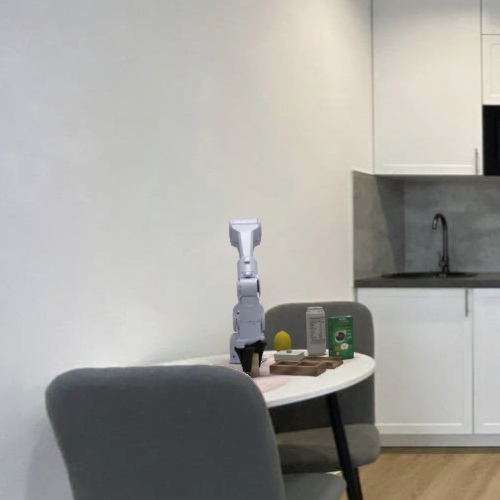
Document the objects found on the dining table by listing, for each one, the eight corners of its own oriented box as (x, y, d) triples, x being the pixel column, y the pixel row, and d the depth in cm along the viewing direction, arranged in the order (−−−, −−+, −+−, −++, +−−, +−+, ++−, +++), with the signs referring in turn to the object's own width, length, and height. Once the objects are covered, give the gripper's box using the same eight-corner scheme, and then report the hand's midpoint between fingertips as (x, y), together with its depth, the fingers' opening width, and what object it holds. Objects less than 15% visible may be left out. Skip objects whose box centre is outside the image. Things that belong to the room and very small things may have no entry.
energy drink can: (324, 352, 233) (323, 306, 233) (327, 355, 227) (325, 308, 227) (306, 353, 233) (304, 306, 232) (308, 356, 227) (306, 308, 226)
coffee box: (349, 356, 224) (348, 314, 223) (355, 358, 221) (353, 315, 221) (328, 360, 220) (326, 317, 219) (333, 361, 217) (331, 317, 217)
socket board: (269, 374, 202) (269, 365, 202) (280, 368, 209) (279, 360, 209) (317, 376, 196) (316, 367, 196) (326, 370, 204) (325, 362, 204)
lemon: (290, 357, 227) (289, 331, 227) (273, 357, 228) (272, 332, 228) (292, 354, 233) (291, 329, 232) (275, 354, 234) (274, 329, 233)
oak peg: (242, 376, 200) (241, 355, 200) (248, 373, 204) (247, 352, 203) (255, 377, 198) (254, 355, 198) (261, 374, 202) (260, 353, 202)
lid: (273, 361, 214) (273, 351, 214) (281, 357, 220) (281, 347, 220) (297, 362, 211) (296, 352, 211) (304, 358, 217) (304, 348, 217)
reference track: (273, 366, 213) (273, 360, 213) (285, 360, 221) (284, 355, 221) (334, 369, 205) (333, 362, 205) (343, 363, 213) (343, 357, 213)
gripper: (252, 324, 192) (254, 375, 193) (273, 317, 205) (275, 365, 206) (228, 324, 195) (230, 374, 196) (250, 317, 208) (252, 364, 209)
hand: (251, 369), depth 201 cm, fingers open, 6 cm apart
